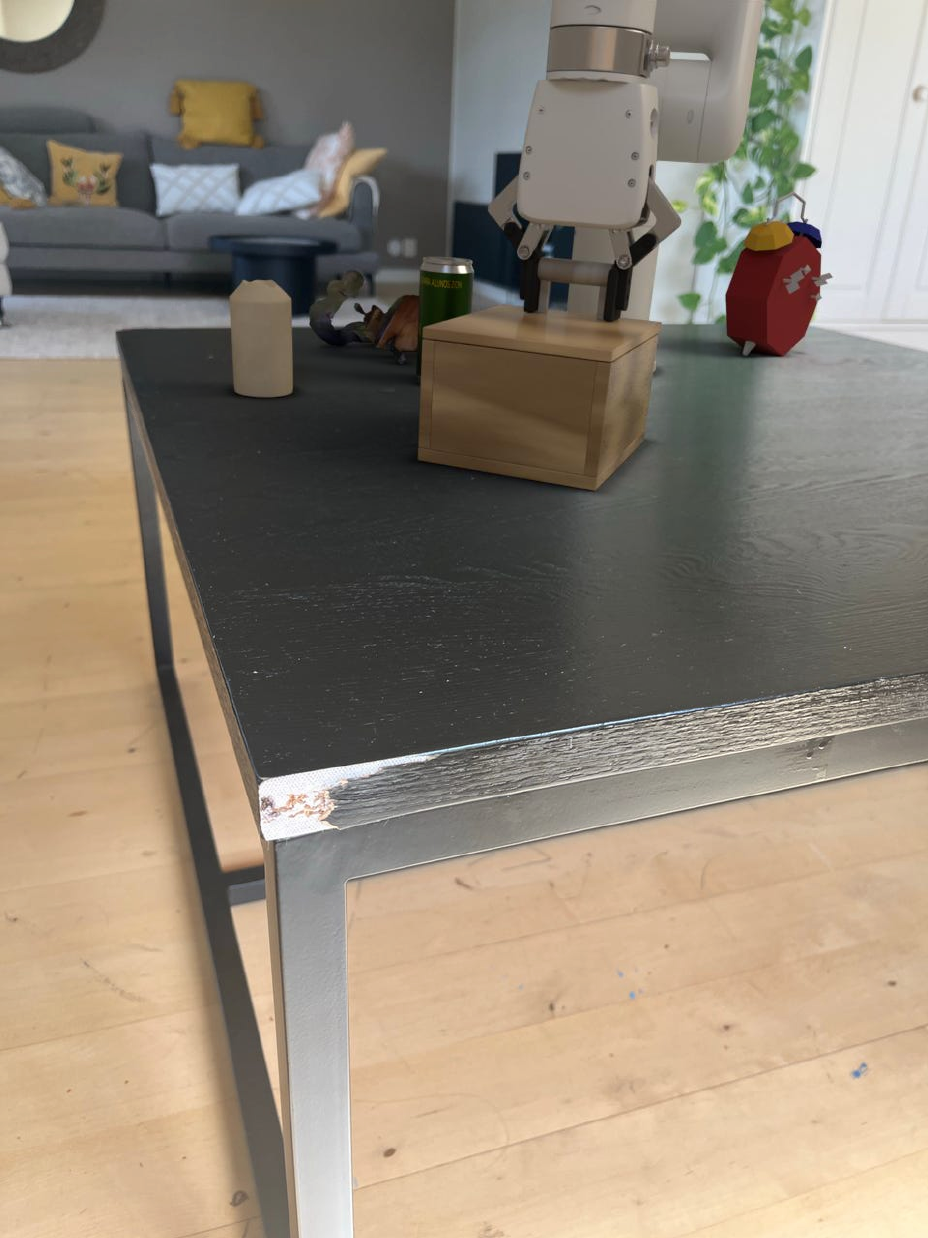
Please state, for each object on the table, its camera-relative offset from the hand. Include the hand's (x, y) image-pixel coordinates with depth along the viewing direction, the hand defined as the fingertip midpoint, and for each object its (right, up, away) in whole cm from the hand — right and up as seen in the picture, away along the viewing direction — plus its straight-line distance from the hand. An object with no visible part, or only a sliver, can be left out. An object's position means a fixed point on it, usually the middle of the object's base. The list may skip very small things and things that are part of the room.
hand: (572, 312), depth 78 cm
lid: (-2, -3, -5) cm, 6 cm away
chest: (-3, -12, -1) cm, 12 cm away
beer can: (-11, -1, +21) cm, 24 cm away
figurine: (-19, +6, +34) cm, 39 cm away
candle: (-28, -4, +12) cm, 31 cm away
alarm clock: (+32, +10, +50) cm, 61 cm away
